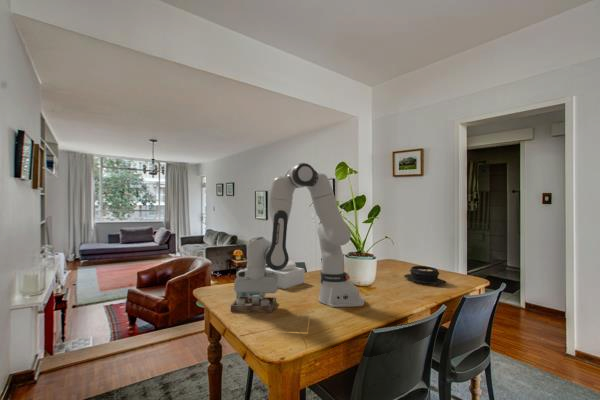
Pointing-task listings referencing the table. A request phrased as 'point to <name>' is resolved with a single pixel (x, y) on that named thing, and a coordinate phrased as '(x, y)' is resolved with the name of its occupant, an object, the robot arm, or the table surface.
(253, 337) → the table surface
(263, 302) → the pebble
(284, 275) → the butter dish
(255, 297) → the pebble
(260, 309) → the tray
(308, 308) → the table surface
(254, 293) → the bowl
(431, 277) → the black hat
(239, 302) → the pebble
